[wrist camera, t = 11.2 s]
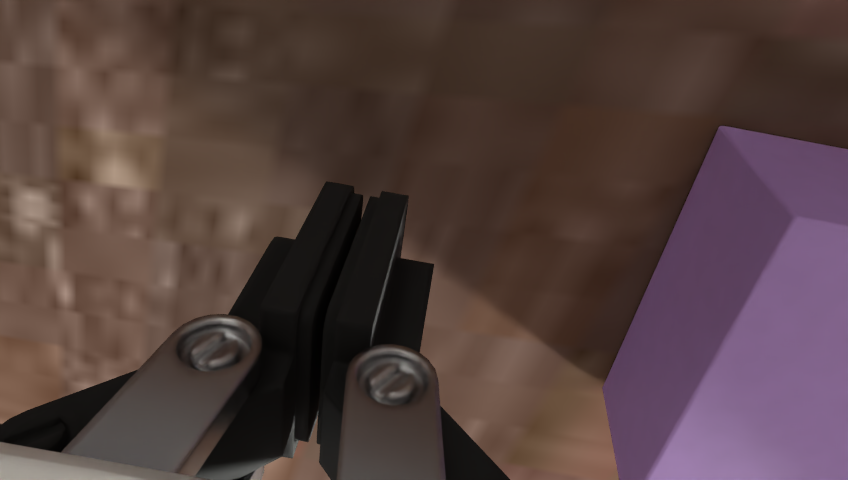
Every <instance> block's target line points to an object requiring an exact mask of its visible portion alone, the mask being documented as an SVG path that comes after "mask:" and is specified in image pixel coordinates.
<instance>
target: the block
mask: <svg viewBox="0 0 848 480" xmlns="http://www.w3.org/2000/svg"><path fill="white" fill-rule="evenodd" d="M603 394H604V399H605V405H606V410H607V415H608V421H609V426H610V432H611V437H612V443H613V448H614V453H615V459H616V464H617V470H618V475H619V480H848V149H844V148H838V147H833V146H828V145H823V144H817V143H812V142H807V141H801V140H796V139H791V138H786V137H780V136H775V135H770V134H764V133H759V132H754V131H749V130H743V129H738V128H733V127H727V126H720V127H719V128H718V130H717V132H716V135H715V137H714V139H713V141H712V144H711V146H710V148H709V150H708V153H707V155H706V157H705V159H704V161H703V164H702V166H701V168H700V170H699V173H698V175H697V177H696V179H695V182H694V184H693V186H692V188H691V191H690V193H689V195H688V197H687V200H686V202H685V204H684V206H683V209H682V211H681V213H680V215H679V218H678V220H677V222H676V224H675V226H674V229H673V231H672V233H671V235H670V238H669V240H668V242H667V244H666V247H665V249H664V251H663V253H662V256H661V258H660V260H659V262H658V265H657V267H656V269H655V271H654V274H653V276H652V278H651V280H650V283H649V285H648V287H647V289H646V292H645V294H644V296H643V298H642V300H641V303H640V305H639V307H638V309H637V312H636V314H635V316H634V318H633V321H632V323H631V325H630V327H629V330H628V332H627V334H626V336H625V339H624V341H623V343H622V345H621V348H620V350H619V352H618V354H617V357H616V359H615V361H614V363H613V365H612V368H611V370H610V372H609V374H608V377H607V379H606V381H605V383H604V386H603Z"/></svg>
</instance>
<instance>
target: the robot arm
mask: <svg viewBox="0 0 848 480" xmlns="http://www.w3.org/2000/svg"><path fill="white" fill-rule="evenodd" d="M408 199H409V196H407V195H402V194H396V193H390V192H385V191H382V192H381V195H380V198H378V197H372V196H370V198H369V201H368V204H367V206H366V209H365V211H364V214H363V217H362V206H363V195H361V194H355V193H354V186H350V185H344V184H339V183H333V182H326V183H325V184H324V186H323V188H322V190H321V192H320V194H319V196H318V198H317V199H316V201H315V203H314V205H313V207H312V209H311V211H310V213H309V215H308V216H307V218H306V220H305V222H304V224H303V226H302V228H301V230H300V232H299V233H298V235H297V237H296V239H295V240H294V239H289V238H283V237H274V239H273V240H272V241H271V243H270V244H269V246H268V248H267V249H266V251H265V253H264V255H263V256H262V258H261V260H260V261H259V263H258V265H257V266H256V268H255V270H254V272H253V273H252V275H251V277H250V278H249V280H248V282H247V283H246V285H245V287H244V289H243V290H242V292H241V294H240V295H239V297H238V299H237V300H236V302H235V304H234V305H233V307H232V309H231V311H230V312H229V314H228V315H227V314H216V315H207V316H203V317H199V318H195V319H193V320H191V321H189V322H187V323H185V324H183V325H182V326H180V327H179V328H178V329H177V330H175V331H174V332H173V333H172V334H171V335H170V336H169V337H168V338H167V340H166V341H165V342H164V343H163V344H162V345H161V346H160V347H159V348H158V349H157V350H156V351H155V352H154V353H153V354H152V356H151V357H150V358H149V359H148V360H147V361H146V362H145V363H144V364H143V365H142V366H141V367H140V368H139V369H138V370H136V371H133V372H130V373H128V374H125V375H122V376H119V377H117V378H114V379H111V380H109V381H106V382H103V383H100V384H98V385H95V386H92V387H90V388H87V389H84V390H81V391H79V392H76V393H73V394H71V395H68V396H65V397H62V398H60V399H57V400H54V401H52V402H49V403H46V404H43V405H41V406H38V407H35V408H33V409H30V410H27V411H25V412H23V413H21V414H19V415H17V416H14V417H12V418H10V419H9V420H7V421H6V422H5V423H3V424H0V480H261V479H262V476H263V473H264V465H266V464H268V463H270V462H272V461H274V460H276V459H278V458H280V457H288V458H293V455H294V452H295V450H296V447H297V444H298V441H299V440H300V441H305V442H308V441H309V440H310V437H311V434H312V431H313V428H314V425H315V422H316V419H317V416H318V429H317V444H320V459H319V463H320V465H321V466H322V467H323V469H324V470H325V472H326V473H327V474H328V476H329V477H330V479H331V480H510V479H509V478H508V477H507V476H506V475H505V474H504V473H503V472H502V470H501V469H500V468H499V467H498V466H497V465H496V464H495V463H494V462H493V461H492V460H491V459H490V458H489V457H488V456H487V455H486V454H485V452H484V451H483V450H482V449H481V448H480V447H479V446H478V445H477V444H476V443H475V442H474V441H473V440H472V439H471V438H470V437H469V436H468V435H467V433H466V432H465V431H464V430H463V429H462V428H461V427H460V426H459V425H458V424H457V423H456V422H455V421H454V420H453V419H452V418H451V417H450V415H449V414H448V413H447V412H446V411H445V410H444V409H443V408H442V407H441V406H440V398H439V385H438V377H437V374H436V370H435V368H434V367H433V365H432V364H431V363H430V361H429V360H428V359H427V358H426V357H424V356H423V355H422V354H420V353H419V352H420V346H421V340H422V334H423V328H424V322H425V316H426V310H427V304H428V298H429V292H430V286H431V280H432V274H433V268H434V264H430V263H425V262H419V261H413V260H408V259H402V258H400V257H401V250H402V243H403V236H404V228H405V221H406V214H407V207H408ZM361 217H362V219H361Z"/></svg>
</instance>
